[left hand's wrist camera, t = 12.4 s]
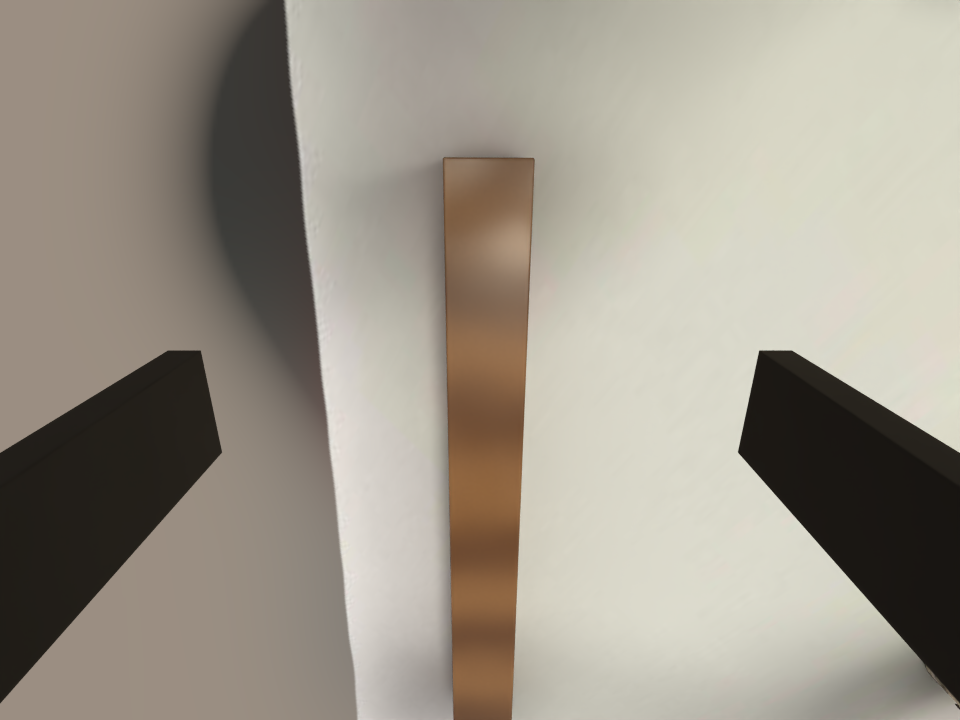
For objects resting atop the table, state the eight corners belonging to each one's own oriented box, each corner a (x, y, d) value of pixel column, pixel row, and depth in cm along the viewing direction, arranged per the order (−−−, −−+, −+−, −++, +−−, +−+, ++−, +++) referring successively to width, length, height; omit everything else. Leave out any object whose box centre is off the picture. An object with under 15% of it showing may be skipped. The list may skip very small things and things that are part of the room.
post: (450, 157, 35) (442, 157, 28) (523, 158, 35) (534, 157, 28) (458, 694, 54) (454, 776, 47) (505, 694, 54) (509, 776, 47)
